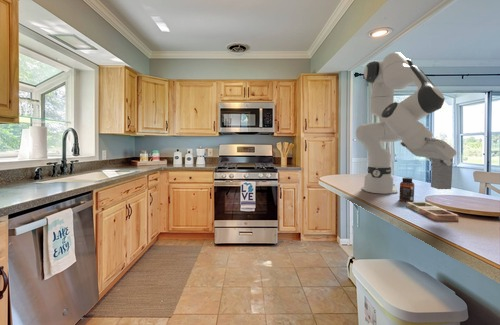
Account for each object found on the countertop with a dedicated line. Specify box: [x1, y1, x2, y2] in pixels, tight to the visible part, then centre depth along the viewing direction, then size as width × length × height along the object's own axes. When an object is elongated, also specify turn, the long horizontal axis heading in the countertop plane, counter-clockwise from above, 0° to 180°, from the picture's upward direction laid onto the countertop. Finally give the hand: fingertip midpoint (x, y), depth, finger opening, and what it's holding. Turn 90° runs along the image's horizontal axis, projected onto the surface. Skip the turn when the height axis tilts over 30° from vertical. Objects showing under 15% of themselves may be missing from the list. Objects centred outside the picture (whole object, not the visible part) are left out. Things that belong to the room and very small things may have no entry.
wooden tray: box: [406, 201, 460, 222], centre depth 102 cm, size 19×8×2 cm, turn 176°
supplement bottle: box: [398, 177, 415, 203], centre depth 121 cm, size 6×6×11 cm
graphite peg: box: [430, 157, 454, 190], centre depth 95 cm, size 4×4×13 cm
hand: (443, 163), depth 95 cm, fingers closed on graphite peg, 4 cm apart
